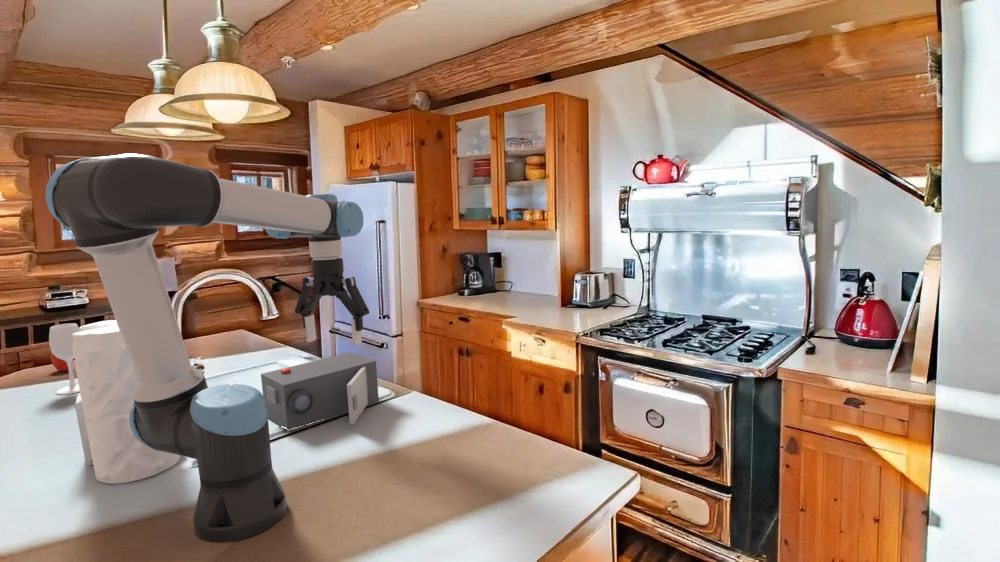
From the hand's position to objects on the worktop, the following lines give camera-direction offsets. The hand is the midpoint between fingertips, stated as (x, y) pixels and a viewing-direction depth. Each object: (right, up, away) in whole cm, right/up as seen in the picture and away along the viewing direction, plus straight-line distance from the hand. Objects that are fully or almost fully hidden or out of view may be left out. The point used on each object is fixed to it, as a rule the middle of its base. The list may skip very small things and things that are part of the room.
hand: (334, 342), depth 139 cm
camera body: (-6, -20, +11) cm, 23 cm away
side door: (+5, -19, +5) cm, 20 cm away
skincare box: (-50, -25, -12) cm, 57 cm away
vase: (-37, -25, -18) cm, 48 cm away
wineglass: (-94, -20, +37) cm, 103 cm away
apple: (-115, -17, +60) cm, 131 cm away
